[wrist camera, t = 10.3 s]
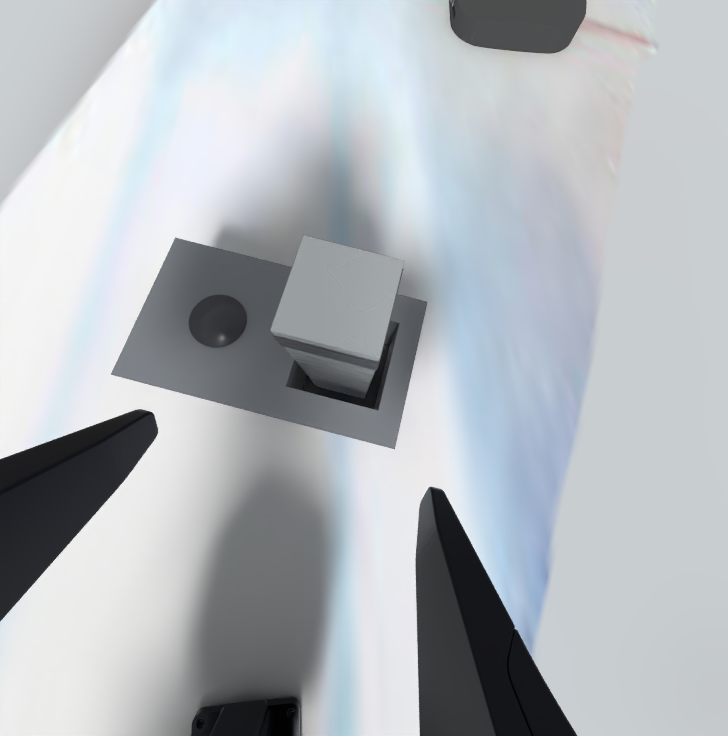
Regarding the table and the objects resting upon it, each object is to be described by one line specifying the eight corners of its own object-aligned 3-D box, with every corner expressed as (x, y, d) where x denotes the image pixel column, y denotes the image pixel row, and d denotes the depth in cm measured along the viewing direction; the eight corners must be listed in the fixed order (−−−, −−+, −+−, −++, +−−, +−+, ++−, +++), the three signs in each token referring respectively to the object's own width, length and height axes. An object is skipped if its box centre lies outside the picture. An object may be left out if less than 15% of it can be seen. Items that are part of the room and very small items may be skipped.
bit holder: (385, 444, 22) (394, 449, 17) (164, 386, 22) (108, 374, 17) (412, 327, 24) (427, 300, 19) (211, 276, 24) (174, 236, 19)
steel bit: (364, 399, 22) (381, 360, 10) (315, 386, 22) (268, 331, 10) (376, 352, 23) (406, 259, 11) (329, 339, 23) (302, 233, 11)
